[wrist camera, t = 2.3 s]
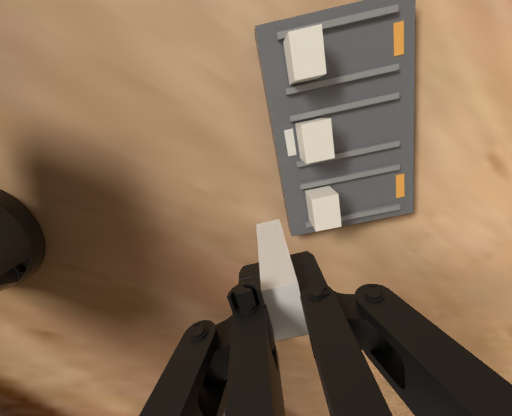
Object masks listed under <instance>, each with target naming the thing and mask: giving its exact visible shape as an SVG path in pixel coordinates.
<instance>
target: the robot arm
mask: <svg viewBox="0 0 512 416" xmlns="http://www.w3.org/2000/svg"><path fill="white" fill-rule="evenodd" d="M256 227H257V241H258V255H259V263H255V264H251V265H246V266H243V267H242V269H241V271H240V272H239V285H237V286H235V287H234V288H232V289H231V290H230V292H229V293H228V296H227V298H228V300H229V303H230V306H231V309H232V312H233V315H232V316H231V317H229V318H228V319H227V320H225V321H223V322H221V323H219V324H217V325H215V324H214V323H213V322H212V321H209V320H203V321H199V322H197V323H195V324H193V325H192V326H190V327H189V328H188V329H187V330H186V332H185V333H184V335H183V337H182V338H181V340H180V342H179V344H178V346H177V348H176V349H175V351H174V353H173V355H172V357H171V359H170V360H169V362H168V364H167V366H166V368H165V370H164V371H163V373H162V375H161V377H160V379H159V380H158V382H157V384H156V386H155V388H154V390H153V391H152V393H151V395H150V397H149V399H148V401H147V402H146V404H145V406H144V408H143V410H142V412H141V413H140V415H139V416H223V414H224V410H225V416H285V410H284V402H283V394H282V386H281V378H280V370H279V362H278V354H277V349H276V346H275V341H279V340H283V339H288V338H293V337H298V336H303V335H308V334H309V337H310V341H311V346H312V350H313V355H314V358H315V361H316V364H317V368H318V372H319V375H320V379H321V383H322V387H323V390H324V394H325V398H326V401H327V405H328V409H329V413H330V416H392V414H391V412H390V409H389V407H388V405H387V403H386V401H385V399H384V397H383V395H382V393H381V390H380V388H379V386H378V384H377V382H376V380H375V378H374V376H373V374H372V372H371V369H370V367H369V365H368V363H367V361H366V359H365V357H364V355H363V353H362V351H361V350H363V351H364V353H365V354H366V355H367V357H368V358H369V359H370V360H371V362H372V363H373V364H374V365H375V367H376V368H377V369H378V370H379V372H380V373H381V374H382V375H383V377H384V378H385V379H386V380H387V382H388V383H389V384H390V385H391V387H392V388H393V389H394V390H395V391H396V393H397V394H398V395H399V396H400V398H401V399H402V400H403V401H404V403H405V404H406V405H407V406H408V408H409V409H410V410H411V411H412V413H413V414H414V415H415V416H512V385H511V384H510V383H509V382H508V381H506V380H505V379H504V378H502V377H501V376H500V375H499V374H497V373H496V372H495V371H493V370H492V369H491V368H490V367H488V366H487V365H486V364H484V363H483V362H482V361H481V360H479V359H478V358H477V357H475V356H474V355H473V354H472V353H470V352H469V351H468V350H466V349H465V348H464V347H463V346H461V345H460V344H459V343H457V342H456V341H455V340H454V339H452V338H451V337H450V336H448V335H447V334H446V333H445V332H443V331H442V330H441V329H439V328H438V327H437V326H436V325H434V324H433V323H432V322H430V321H429V320H428V319H427V318H425V317H424V316H423V315H421V314H420V313H419V312H418V311H416V310H415V309H414V308H412V307H411V306H410V305H409V304H407V303H406V302H405V301H403V300H402V299H401V298H400V297H398V296H397V295H396V294H394V293H393V292H392V291H391V290H389V289H388V288H386V287H384V286H382V285H378V284H366V285H362V286H361V287H359V288H358V289H357V290H356V292H355V294H341V293H337V292H335V291H333V290H332V289H331V288H330V287H329V286H328V285H327V283H326V281H325V279H324V277H323V275H322V272H321V270H320V268H319V266H318V264H317V262H316V260H315V257H314V255H312V254H311V253H309V252H308V251H305V252H301V253H297V254H292V255H290V254H289V251H288V247H287V244H286V241H285V237H284V234H283V230H282V227H281V224H280V220H279V219H277V220H273V221H269V222H264V223H260V224H256ZM44 253H45V243H44V238H43V234H42V231H41V229H40V227H39V225H38V223H37V222H36V220H35V219H34V217H33V216H32V215H31V213H30V212H29V211H28V210H27V209H26V208H25V207H24V206H23V205H22V204H21V203H19V202H18V201H17V200H15V199H14V198H13V197H11V196H10V195H8V194H6V193H4V192H2V191H0V291H1V290H4V289H7V288H10V287H12V286H14V285H16V284H18V283H20V282H21V281H22V280H24V279H25V278H27V277H28V276H29V275H31V274H32V273H33V272H35V271H36V270H37V268H38V267H39V266H40V264H41V263H42V260H43V257H44ZM274 338H275V341H274Z"/></svg>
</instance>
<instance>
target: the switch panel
mask: <svg viewBox="0 0 512 416" xmlns="http://www.w3.org/2000/svg"><path fill="white" fill-rule="evenodd" d="M319 24H322V32H323V42H324V52H325V62H326V73H327V74H325V75H323V76H321V77H320V78H318V79H314V80H309V81H305V82H300V83H296V84H292V85H289V79H288V72H287V65H286V58H285V51H284V44H283V42H284V40H285V37H286V35H287V33H288V32H289V31H294V30H298V29H302V28H306V27H311V26H315V25H319ZM255 39H256V45H257V50H258V56H259V62H260V67H261V73H262V79H263V84H264V90H265V96H266V101H267V107H268V112H269V118H270V124H271V129H272V135H273V141H274V146H275V152H276V158H277V163H278V169H279V174H280V180H281V186H282V191H283V197H284V203H285V208H286V214H287V220H288V225H289V230H290V232H291V235H292V236H296V235H301V234H306V233H312V232H316V231H315V229H314V228H313V226H312V224H311V222H310V221H309V216H308V209H307V202H306V196H305V190H310V189H315V188H320V187H325V186H330V187H331V188H332V189H333V190H334V191H336V192H337V193H338V195H339V205H340V215H341V226H347V225H352V224H357V223H362V222H367V221H373V220H378V219H383V218H388V217H393V216H398V215H403V214H408V213H413V197H414V92H415V0H363V1H359V2H355V3H351V4H347V5H342V6H338V7H334V8H330V9H325V10H321V11H317V12H313V13H308V14H304V15H300V16H296V17H292V18H287V19H283V20H279V21H275V22H270V23H266V24H262V25H258V26H255ZM318 118H331V124H332V134H333V144H334V154H335V158H333V159H328V160H323V161H318V162H314V163H309V164H306V163H305V162H304V161H302V160H301V159H300V154H299V147H298V141H297V134H296V127H295V123H300V122H304V121H309V120H314V119H318Z"/></svg>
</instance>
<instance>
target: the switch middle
mask: <svg viewBox="0 0 512 416" xmlns="http://www.w3.org/2000/svg"><path fill="white" fill-rule="evenodd" d="M295 127H296V134H297V141H298V147H299V154H300V159H301V160H302V161H304V162H305V163H306V164H309V163H314V162H318V161H323V160H328V159H333V158H335V154H334V144H333V134H332V124H331V118H318V119H314V120H309V121H304V122H300V123H295Z"/></svg>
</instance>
